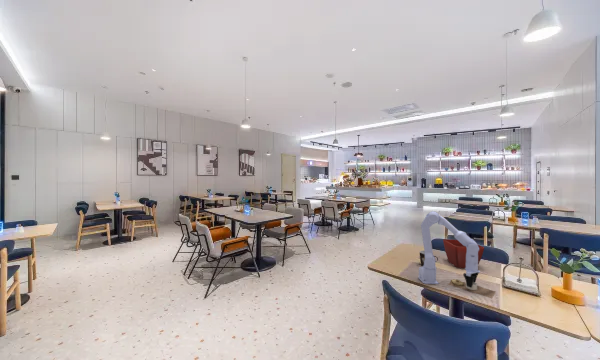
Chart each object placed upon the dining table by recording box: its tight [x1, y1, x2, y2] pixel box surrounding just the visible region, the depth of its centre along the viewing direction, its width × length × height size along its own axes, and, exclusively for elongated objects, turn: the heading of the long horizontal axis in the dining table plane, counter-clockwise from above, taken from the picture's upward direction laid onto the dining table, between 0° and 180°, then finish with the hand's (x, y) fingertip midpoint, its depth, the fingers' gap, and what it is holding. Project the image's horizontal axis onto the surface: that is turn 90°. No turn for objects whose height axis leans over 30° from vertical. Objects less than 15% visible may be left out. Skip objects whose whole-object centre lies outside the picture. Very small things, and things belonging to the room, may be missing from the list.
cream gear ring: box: [466, 282, 478, 290], centre depth 138 cm, size 5×5×3 cm
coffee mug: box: [419, 250, 439, 267], centre depth 173 cm, size 12×9×10 cm
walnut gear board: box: [447, 278, 497, 299], centre depth 138 cm, size 21×11×4 cm, turn 42°
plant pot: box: [442, 238, 485, 269], centre depth 175 cm, size 19×19×17 cm
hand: (471, 284), depth 138 cm, fingers open, 7 cm apart
